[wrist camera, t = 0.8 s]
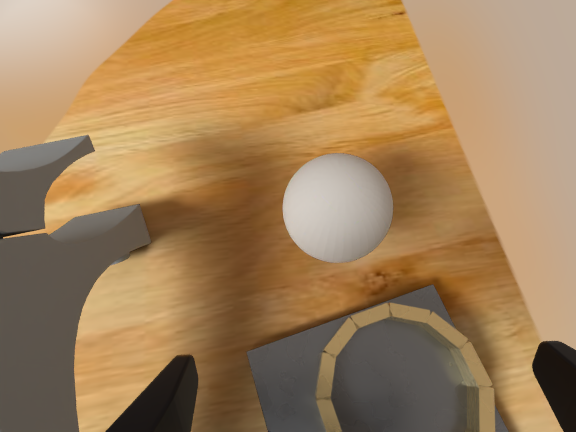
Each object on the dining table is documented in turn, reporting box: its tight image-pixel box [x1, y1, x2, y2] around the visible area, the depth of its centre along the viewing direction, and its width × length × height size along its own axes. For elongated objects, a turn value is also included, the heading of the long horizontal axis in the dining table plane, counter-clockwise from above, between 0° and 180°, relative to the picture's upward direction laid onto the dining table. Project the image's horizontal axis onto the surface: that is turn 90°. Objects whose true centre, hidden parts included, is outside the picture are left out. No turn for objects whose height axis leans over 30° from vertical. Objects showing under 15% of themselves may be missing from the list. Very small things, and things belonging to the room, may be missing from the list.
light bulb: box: [283, 153, 393, 263], centre depth 20 cm, size 6×6×10 cm
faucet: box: [0, 135, 151, 432], centre depth 18 cm, size 6×17×30 cm
